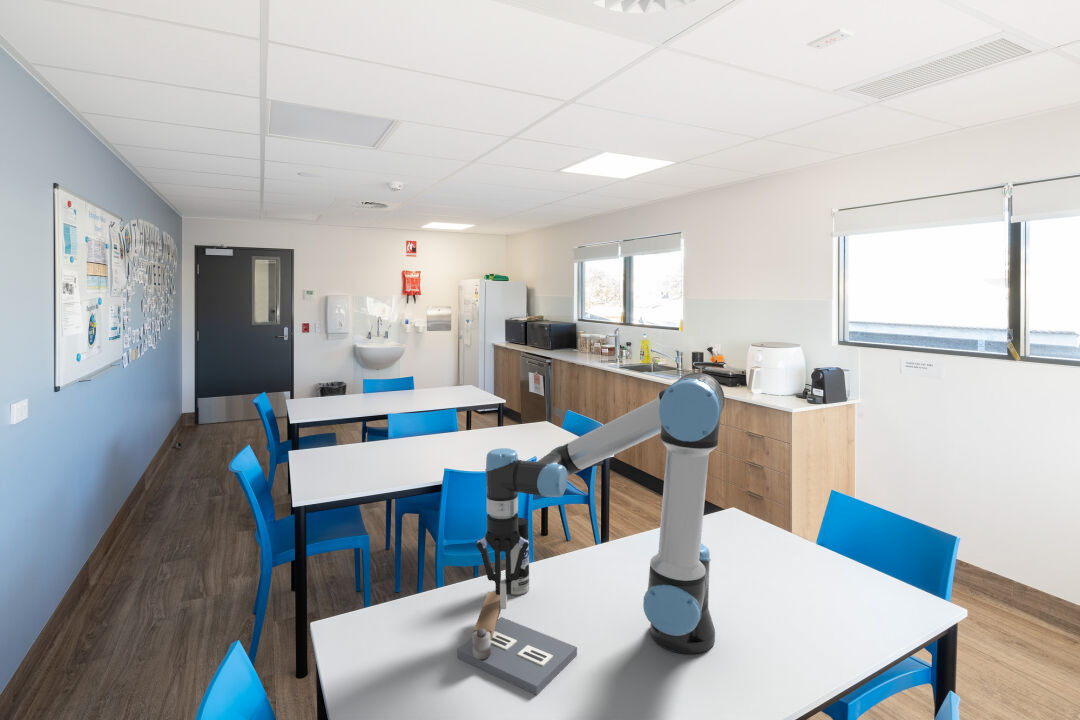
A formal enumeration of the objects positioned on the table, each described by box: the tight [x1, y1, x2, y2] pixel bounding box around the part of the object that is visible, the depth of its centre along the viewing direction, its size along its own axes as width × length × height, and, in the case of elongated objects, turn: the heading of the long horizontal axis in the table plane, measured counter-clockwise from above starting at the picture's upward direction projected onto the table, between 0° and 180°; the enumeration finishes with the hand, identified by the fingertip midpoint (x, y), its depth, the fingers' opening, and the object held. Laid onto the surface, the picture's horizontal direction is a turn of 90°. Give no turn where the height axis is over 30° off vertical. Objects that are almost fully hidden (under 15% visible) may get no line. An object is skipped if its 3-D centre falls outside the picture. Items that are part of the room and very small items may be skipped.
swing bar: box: [471, 591, 502, 659], centre depth 135 cm, size 4×20×5 cm, turn 175°
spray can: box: [504, 516, 530, 596], centre depth 159 cm, size 7×7×20 cm
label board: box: [456, 616, 578, 696], centre depth 130 cm, size 22×16×2 cm
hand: (503, 606), depth 140 cm, fingers closed
